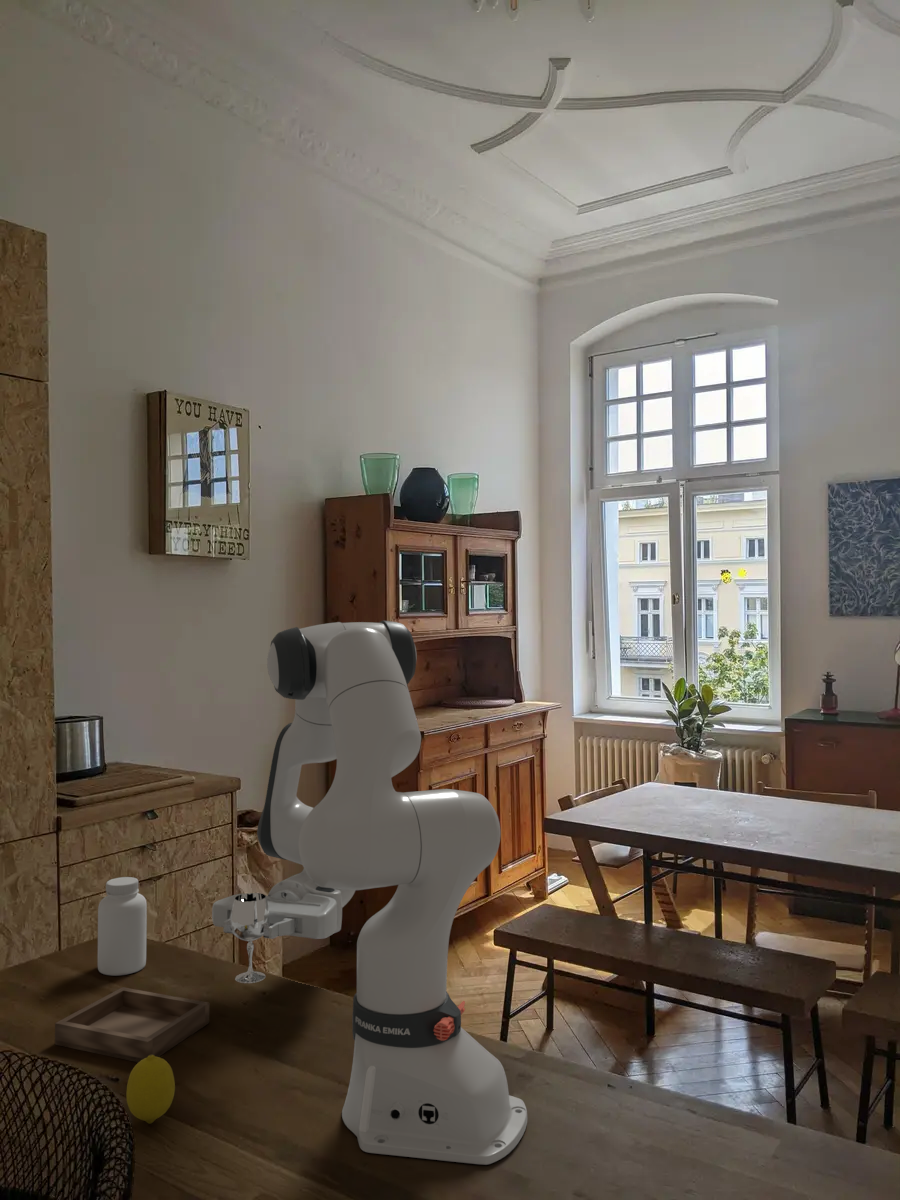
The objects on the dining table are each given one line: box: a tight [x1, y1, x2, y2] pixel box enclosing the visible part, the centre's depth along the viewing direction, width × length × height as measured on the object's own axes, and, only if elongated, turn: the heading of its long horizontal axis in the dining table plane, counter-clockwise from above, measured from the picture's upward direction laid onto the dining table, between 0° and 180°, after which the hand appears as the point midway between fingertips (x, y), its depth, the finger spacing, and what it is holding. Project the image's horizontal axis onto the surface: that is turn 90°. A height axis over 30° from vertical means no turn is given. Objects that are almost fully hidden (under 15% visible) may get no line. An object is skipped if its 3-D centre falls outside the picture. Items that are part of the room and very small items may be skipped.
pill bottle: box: [97, 876, 148, 977], centre depth 163 cm, size 8×8×15 cm
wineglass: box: [231, 892, 270, 984], centre depth 142 cm, size 6×6×12 cm
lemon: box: [125, 1055, 176, 1124], centre depth 113 cm, size 6×6×8 cm
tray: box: [54, 986, 210, 1063], centre depth 137 cm, size 16×14×3 cm
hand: (247, 930), depth 141 cm, fingers closed on wineglass, 6 cm apart
